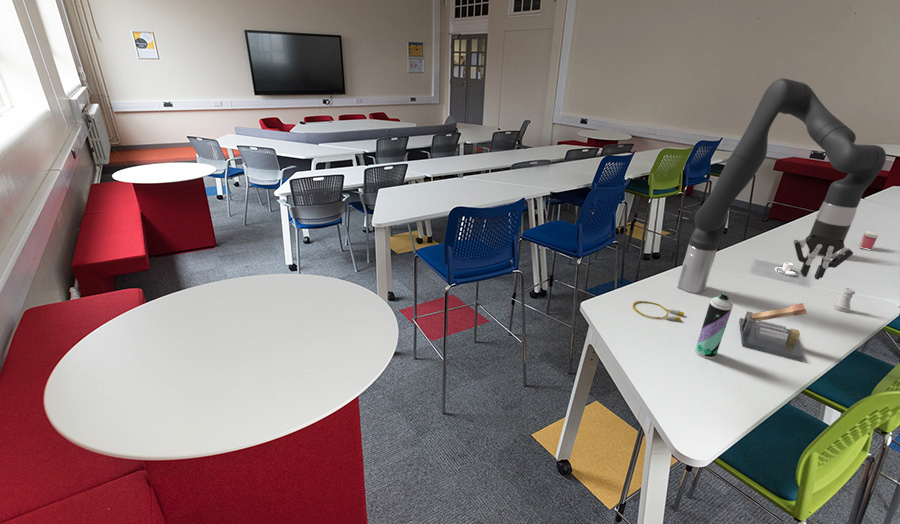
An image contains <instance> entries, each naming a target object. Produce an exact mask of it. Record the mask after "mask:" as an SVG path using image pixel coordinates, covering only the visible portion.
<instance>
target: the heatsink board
mask: <svg viewBox="0 0 900 524" xmlns="http://www.w3.org/2000/svg"><path fill="white" fill-rule="evenodd" d="M748 313H751V314H754V312H752V311H746V313H745V316H744V318H742V317H741V318H739V320H738V325H739V334H740V339H741V340H740V341H741V347H743V348H748V349H752V350H756V351H761V352H762V353H763V352H764V353H768V354H771V355H773V356H774V355H775V356H779V357H784V358H787V359H791V360H795V361H798V362H803V359H804V354H803V351H802V348H801V345H800V342H799V337H800V336H801V333H800V330H799V329H795V328H790V329H789V328H787V327H786V325H782V324H778V323H774V322H771V321H770V322H768V321H766V320H761V321H754V320H753V319H748V320H747V318H746V315H747V314H748Z"/></svg>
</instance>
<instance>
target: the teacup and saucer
mask: <svg viewBox="0 0 900 524" xmlns="http://www.w3.org/2000/svg"><path fill="white" fill-rule="evenodd" d="M793 266H794V264H793V263H792V262H790V261H784V262H783V265H782V267H781V266H777V267H775V268H774V270H775V272H777V270H776V269H777V268H779V269H782V272H783V273H785V274H787V275H786V276H790V277H791V276H797V275H796V273H795V272H793V271H791V270H792V268H793ZM779 272H780V271H779V270H778V272H777V273H779Z"/></svg>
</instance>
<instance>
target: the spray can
mask: <svg viewBox="0 0 900 524" xmlns="http://www.w3.org/2000/svg"><path fill="white" fill-rule="evenodd" d="M733 305H734V303H733V302H732V301H731V300H730V299H729V295H728V293H726V292H721V293H720V295H717V296H714V297H712V298H711V300H710V301H709V304H708V308H707V311H706V314H705V317H704V320H703V324H702V327H701V330H700V333H699V336H698V339H697V341H696V342H697V343H696V346H695V348H694V352H695V353H696V355H698V356H699V357H701V358H704V359H707V360H713V359H715V358H716V356H717V353H718V351H719V348H720V345H721V342H722V339H723V336H724V333H725V330H726V327H727V324H728V321H729V319H730V316H731V313H732V311H733V310H732V309H733Z"/></svg>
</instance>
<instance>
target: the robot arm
mask: <svg viewBox="0 0 900 524" xmlns="http://www.w3.org/2000/svg"><path fill="white" fill-rule="evenodd" d="M763 93H764V94H763V95H762V97H761V98H760V101H759V103H758V105H757V107H756V109H755V111H754V114H753V116H752V117H751V119H750V122H749V123H748V125H747V127H746V129H745V131H744V133H743V135H742V136H741V138H740V140H739V142H738V143H737V145H736V146H735V148H734V149H733V151H732V153H731V155H730V156H729V158H728V160H727V161H726V163H725V165H724V167H723V169H722V170H721V173H720V174H719V176H718V178H717V181H716V183H715V185H714V187H713V189H712V191H711V192H710V194H709V195H708V197H707V198H706V199H705V201H704V202H703V204H702V205H701V206H700V207H699V208H698V209H697V211H696V212H695V214H694V224H695V227H694V230H693V232H692V233H691V234H692V235H691V236H690V238H689V242H688V246H687V250H686V253H685V257H684V260H683V262H682V266H681V270H680V273H679V277H678V281H677V288H678V289H680V290H683V291H685V292H689V293H691V294H702V293H704V292H705V290H706V287H707V283H708V280H709V277H710V273H711V271H712V268H713V263H714V261H715V258H716V254H717V252H718V251H717V250H718V248H719V245H720V242H721V240H722V238H723V236H724V235H723V234H724V232H725V229H726V226H727V222H728V219H729V210H730V208H731V206H732V205H733V203H734V201H735V199H736V198H737V197H738V196H739V195H740V194H741V192H742V191H743V190H744V189H745V188H747V186H748V185H749V183H751V180H752V179H753V178H754V176H755V175H756V174H757V172H758V171H759V169H760V168H761V166H762V165H763V163H764V161H765V159H766V157H767V152H768V143H769V142H768V138H769V132H770V128H771V127H772V125H773V123H774V121H775V119H776V118H777V117H778V114H779V113H780V114H784V115H791V116H793V117H795V118H796V119H798V120H800V121H801V122H802V123H804V125H805V126H806V131H807V134H808V135H809V137H810V138H811V140H813V142H815V143H816V144H817V146H819V147H820V148H821V149H822V150H824V152H825V155H826V157H827V159H828V161H829V163H830V164H831V166H832V167H833V168H834V169H835V170H836V171H839V172H840V173H844V174H845V173H846V174H847V175H846V176H845V177H844V178H842V179H839V180H835V181H833V182H831V184H830V185H829V187H828V190H827V193H826V196H825V198H824V200H823V202H822V204H821V206H820V207H819V210H818V212H817V214H816V218H815V220H814V222H813V225H812V228H811V230H810V232H809V234H808V236H807V237H805V238H804V239H801V240H798V239H794V240H793V244H794V245H793V246H794V250H795V253H796V258H797V259H798V261H799V262H801V263H803V264H802V266H801V269H800V274H801V276H802V277H803V278H807V276H808V274H809V271H810V269H811V264H812V263H813V261H814V259H816V257H817V256H819V255H822V256H821V262H820V264H819V265H817V268H816V272H815V274H814V275H813V277H814V279H815V280H820V279H822V278H823V277H824V275H825V273H826V270H827V269H828V268H832V269H833V268H834V269H835V268H837V267H838V266H840V265H841V264H842V263H844V262H845V261H847V259H849V258H850V257H852V256H853V254H854V252H853V250H852V249H851V248H849V247H846V246H845V239H846V237H847V235H848V233H849V230H850V228H851V225H852V223H853V221H854V220H855V219H854V218H855V217H856V214H857V209H858V206H859V204H860V202H861V200H862V198H863V197H862V196H863V194H864V192H865V191H866V190H867V188H869V186H870V185H871V184H872V182H873V181H874V180H875V178H877V176H878V175H879V174H880V173H881V171H882V169H883V168H884V165H885V164H886V159H887V155H886V151H885V149H884V148H883V147H882V146H880V145H876V144H856V140H857V139H856V138H857V136H856V134H855V132H854V131H853V130H852V129H851V128H850V127H849V126H847V125H846V124H844V122H842V121H841V120H840V119H838V118H837V117H836V116H835V115H834V114H832V113H831V111H829V110H828V108H826V107H825V105H824V104H823V103H822V101H821V100H820V99H819V97H818V96H817V95H816V92H814V90H813V89H812V88H811V87H810V86H809V85H808V84H807V83H805V82H802V81H797V80H793V79H788V78H778V79H776V80H775V81H773V82H772V83H770V84H769V86H767V89H766V90H765V91H764V92H763ZM805 244H806V245H807V249H808V248H809V251H807V253H806V256H804V254H803V248H804V247H805ZM838 252H839V254H838V255H836V256H834V258H831V256H832V254H834V253H835V254H836V253H838Z"/></svg>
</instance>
